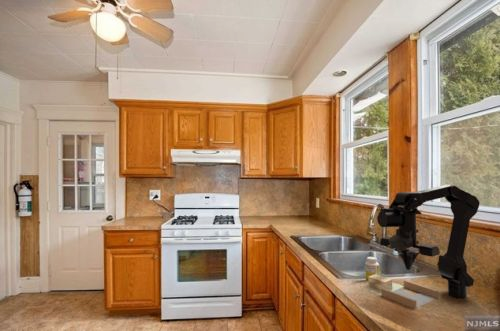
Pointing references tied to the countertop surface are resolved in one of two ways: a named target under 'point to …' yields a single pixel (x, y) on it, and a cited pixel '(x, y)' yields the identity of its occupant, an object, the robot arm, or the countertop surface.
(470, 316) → the countertop surface
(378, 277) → the block
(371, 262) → the supplement bottle
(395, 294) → the board
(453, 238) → the robot arm
